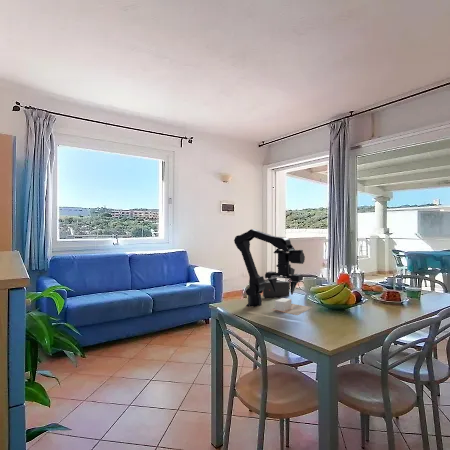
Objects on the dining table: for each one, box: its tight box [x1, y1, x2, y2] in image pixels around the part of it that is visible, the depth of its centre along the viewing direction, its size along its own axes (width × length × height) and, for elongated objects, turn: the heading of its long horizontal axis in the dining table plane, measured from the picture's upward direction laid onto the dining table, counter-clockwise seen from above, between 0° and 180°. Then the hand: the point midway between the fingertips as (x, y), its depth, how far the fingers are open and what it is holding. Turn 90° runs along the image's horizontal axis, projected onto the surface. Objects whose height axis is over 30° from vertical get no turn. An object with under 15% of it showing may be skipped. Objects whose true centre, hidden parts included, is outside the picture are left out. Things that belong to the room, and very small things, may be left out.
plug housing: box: [274, 297, 292, 311], centre depth 160 cm, size 5×10×4 cm, turn 142°
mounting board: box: [270, 303, 314, 316], centre depth 160 cm, size 15×18×3 cm
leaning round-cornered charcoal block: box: [262, 280, 290, 299], centre depth 190 cm, size 16×5×9 cm, turn 99°
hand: (283, 293), depth 159 cm, fingers open, 9 cm apart
